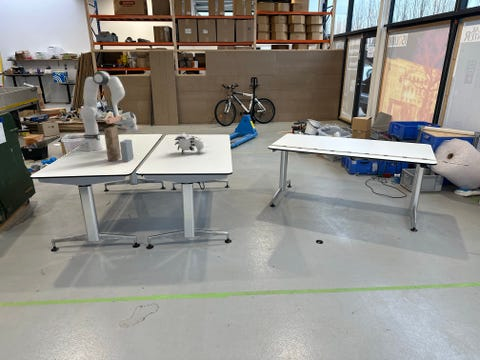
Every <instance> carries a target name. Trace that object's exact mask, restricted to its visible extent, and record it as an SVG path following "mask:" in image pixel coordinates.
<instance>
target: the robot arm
mask: <svg viewBox="0 0 480 360" xmlns="http://www.w3.org/2000/svg"><path fill="white" fill-rule="evenodd" d="M100 85H103V86H104V85H107V87H109V89H110V92H111V97H110V98H109V99H110V105H111V110H112V114H113V116H112V117H111V118H113V117H116V116H123V117H121V119H122V120H119V121H117V122H114V123H113V124H115V125H116V126H118V127H123V129H126V130H127V132H130V133H136V132H137V131H138V130H139V127H138V124H137V116H136V114H135V113H134V112H132V111H127V112H125V113H121V114H119V112H120V111H119V109H118V104H119V102H120V101H122V100H123V99H124V97H125V95H126V91H125V88H124V85H123V83H122V81H121V80H120V78H119V77H118V76H115V75H114V76H113V75H112V76H111V75H110V73H109V72H107V71H103V70H99V71H95V72H94V73H93V75H92V76H88V77H86V78H85V82H84V85H83V97H82V98H83V107H82V108H81V109H80V112H79V113H80V117H81V120H82V123H83V127H84V132H85V134H83V139H82V140H81V141H79V143H78V147H77V148H76V151H83V152H93V151H100V150H102V149H104V148H103V145H102V142H101V136H100V132H99V125H98V122H97V120H96V117H97V115H98V93H99V86H100Z"/></svg>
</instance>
